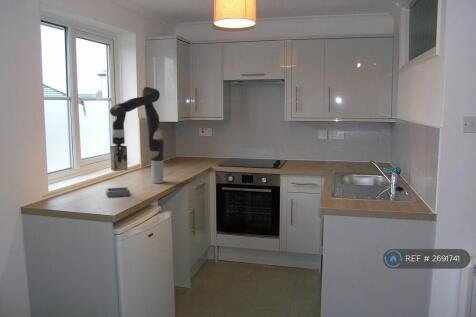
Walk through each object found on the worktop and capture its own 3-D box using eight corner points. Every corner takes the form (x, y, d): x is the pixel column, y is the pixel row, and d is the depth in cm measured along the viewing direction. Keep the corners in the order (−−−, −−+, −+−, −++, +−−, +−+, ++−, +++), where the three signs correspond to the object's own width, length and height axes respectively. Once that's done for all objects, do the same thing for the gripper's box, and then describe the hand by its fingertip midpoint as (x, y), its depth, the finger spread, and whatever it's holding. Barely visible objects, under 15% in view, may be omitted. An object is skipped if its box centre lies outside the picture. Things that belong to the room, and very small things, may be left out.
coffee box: (124, 169, 282) (123, 145, 280) (127, 170, 277) (127, 146, 275) (110, 170, 276) (110, 145, 274) (114, 171, 271) (113, 146, 269)
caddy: (106, 193, 281) (105, 188, 281) (127, 192, 286) (127, 187, 286) (107, 197, 271) (107, 191, 271) (129, 195, 276) (129, 190, 276)
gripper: (111, 135, 279) (111, 160, 281) (113, 137, 266) (114, 163, 268) (122, 135, 282) (123, 159, 284) (125, 137, 268) (126, 162, 271)
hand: (119, 161), depth 276 cm, fingers closed on coffee box, 7 cm apart
